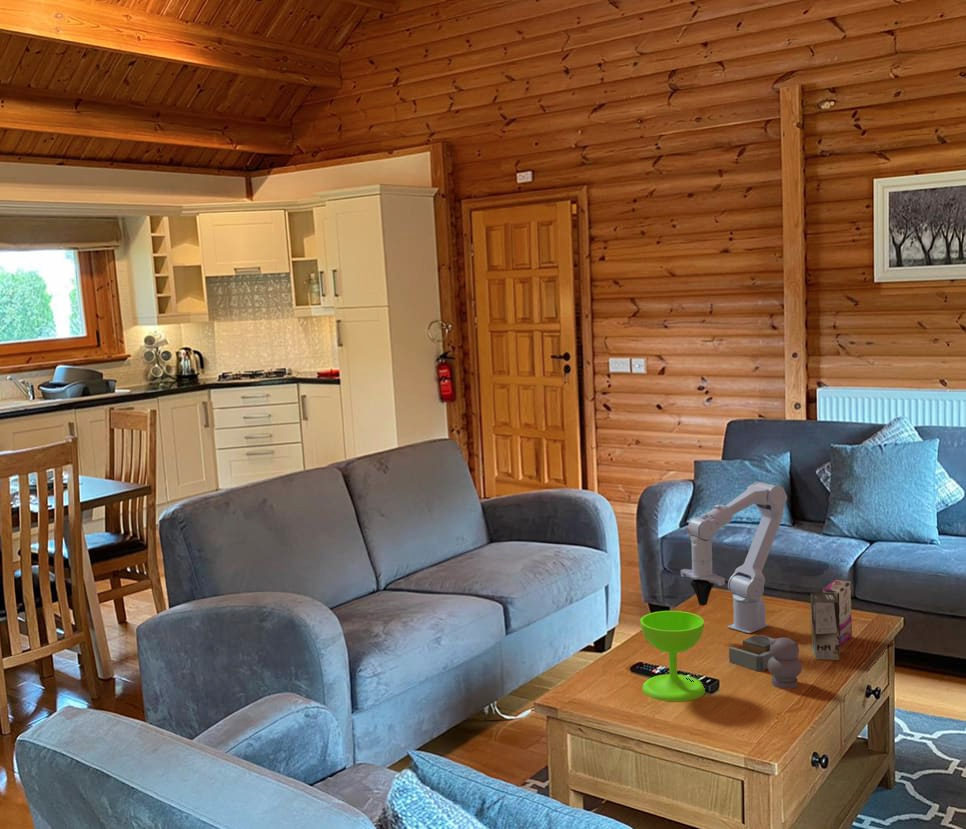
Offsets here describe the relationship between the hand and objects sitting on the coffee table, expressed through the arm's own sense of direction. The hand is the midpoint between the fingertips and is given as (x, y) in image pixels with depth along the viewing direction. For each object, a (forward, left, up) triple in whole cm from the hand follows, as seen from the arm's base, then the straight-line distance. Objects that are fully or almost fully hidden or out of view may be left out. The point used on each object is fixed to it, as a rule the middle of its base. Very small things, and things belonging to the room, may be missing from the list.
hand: (703, 604), depth 282 cm
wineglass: (+35, +18, -10) cm, 41 cm away
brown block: (+4, +22, -10) cm, 24 cm away
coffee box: (-12, +32, -10) cm, 36 cm away
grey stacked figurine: (+13, +36, -10) cm, 40 cm away
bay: (+4, +22, -10) cm, 24 cm away
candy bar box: (-23, +29, -10) cm, 38 cm away
